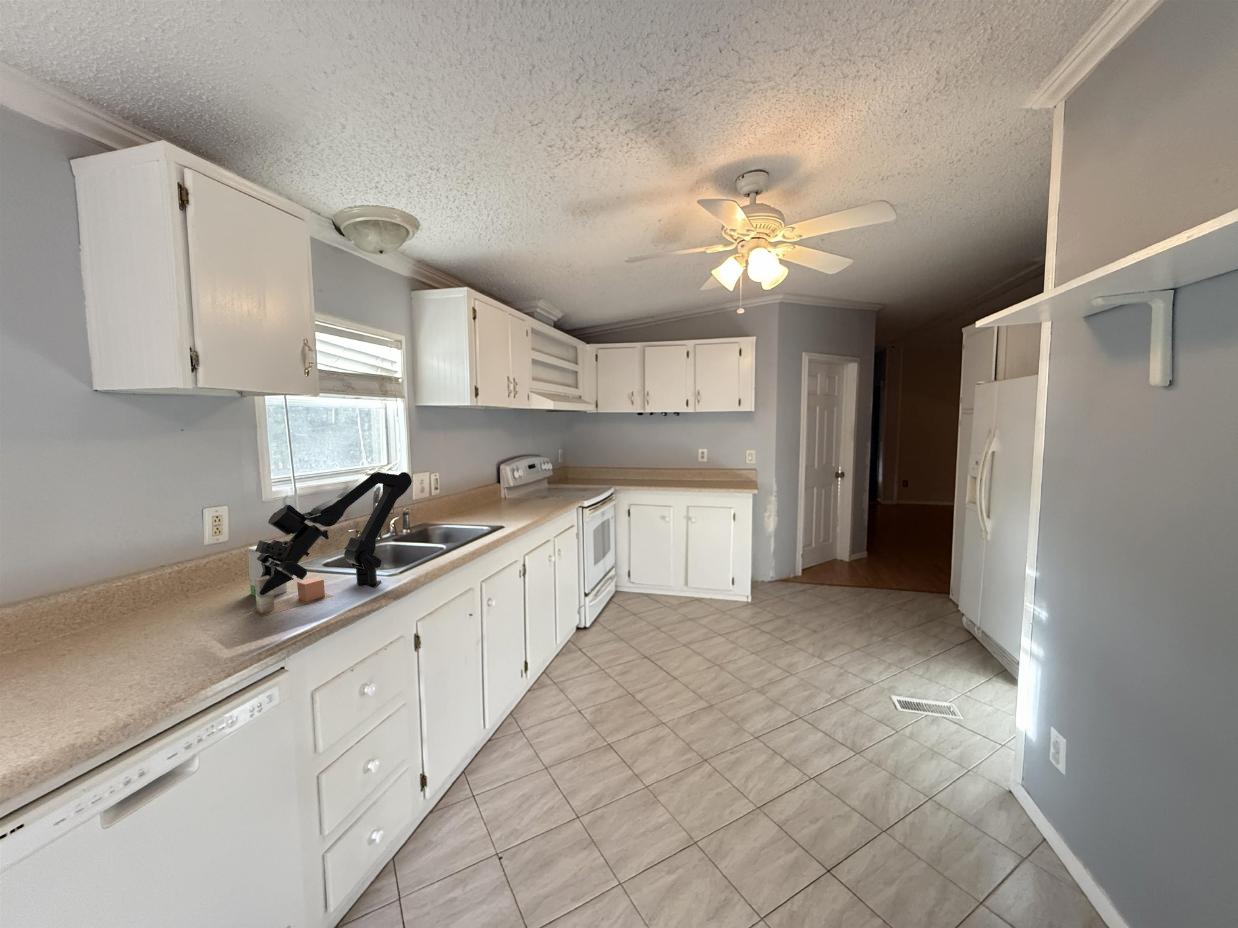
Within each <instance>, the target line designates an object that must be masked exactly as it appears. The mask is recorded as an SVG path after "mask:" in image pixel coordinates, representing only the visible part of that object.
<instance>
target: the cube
mask: <svg viewBox="0 0 1238 928" xmlns="http://www.w3.org/2000/svg"><path fill="white" fill-rule="evenodd" d="M296 584H297V585H296V586H297V596H298V598H299V599H301V600H304V601H306V602H307V601H310V600H314V599H317V598H321V597H324V596H325V593H326V592H325V579H323V578H320V577H317V576H314V577H310V578H306V579H303V580H301V579H300V580H297V581H296Z"/></svg>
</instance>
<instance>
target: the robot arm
mask: <svg viewBox="0 0 1238 928" xmlns="http://www.w3.org/2000/svg"><path fill="white" fill-rule="evenodd" d="M412 483H413V480H412V477H411V475H410V474H409V473H408V472H406V471H405V472H403V471H390V472H389V473H386V472H380V471H377V470H376V471H375V470H370V471H367V472H366V473H365V474H364V475H363V476H362V477H361V478H359V479H358V480H357V481H355V482H354V483H352V484H351V485H350V486H349V487H347V488H346V489H345V490H344V491H342V492H341V493H340V494H338V495H337V496H336V497H334V498H331V499H329V500H327V501H324V502H322V503H320V504H318V505H316V506H315V507H313V508H312V509H311V510H310V511H307V512H303V513H301V512H300V511H299V510H296V508H295V507H294V506H293V505H291V504H286V505H284V507H282V508H280V509H278V510H277V511H275V512H274V513H273V514H271V516H270V517H269V518H268V525H270V526H272V527H273V528H275V529H276V530H278V531H280V532H281V533H283V534H285V535H286V536H288V535H291V534H292V536H291V538H290V539H289V540H284V541H281V540H275V539H274V540H272V541H271V542H270V541H267V540H260V539H259V541H258V543H257V545H256V546H257V548H256V550H255V552H259V553H262V554H260V555H259V557H258V558H257V560H258V561H260V562H262V563H261V565H262V568H263V572H262V575H261V577H263V576H270V577H269V579H268V580H267V582H266V583H265V585H264V586H263V587H262V589H261V591H260V592H259V594H261V595H264V594H266V593H268V592H270V591H272V590H273V589H275V588H277V587H279V586H281V585H282V584H284V583H286V584H287V583H288V582H291V581H294V579H295V578H294V576H295V577H296V578H297V579H298V580H300V581H301V580H305V579H304V578H305V577H306V576H307V575H308V570H307V568H305V567H304V566H302V565H300V564H299V563H300V562H301V561H302V559H303V558H305V557H309V555H310V552H309V551H310V550H311V549H312V548H313V546H314V545H315V544H316V542H318V540H319V539H323V540H329V539H330V537H329V534H328V532H329V531H328V529H325V528H326V527H327V528H330V527H333V526H335V525H336V524H337V523H338V522H339V521H340V519H342V517H343V516H344V514H345V512H346V510H348V508H349V507H350V506H352V505H353V504H354V503H356V502H357V501H358V500H359V499H360V498H362V497H363V496H364V495H366V494H367V493H368V492H369V491H371V490H372V489H373V488H374V487H375V486H377V485H379V484H380V485H382V493H381V496H380V497H379V500H378V501H377V503H376V505H375V507H374V509H373V511H372V513H371V514H370V516H369V517H368V520H367V521H366V523H365V525H364V528H363V529H362V531H361V533H360V534H359V535H358V536H356V537H350V539H349V540H348V543H347V545H346V546H345V547H344V548H343V549H344V550H345V551H344V554H343V555H344V558H345V560H346V561H347V562H348V563H350V565H351V567H352V568H355V575H356V584H357V586H358V587H363V586H366V587H371V588H372V589H374V588H376V587H377V586H378V585H380V584H381V582H382V580H379V579H378V575H377V569H378V568H380V567H381V564H382V560H381V558H379V557H378V556H376V555H375V552H376V549H377V545H376V544H377V538H378V536H379V535H380V533H381V531H382V529H383V527H384V525H385V523H386V521H387V519H388V517H389V515H390V514H391V511H392V509H393V508H394V506H395V505H396V502H397V501H398V499H399V498H401V497H403V495H404V494H406V492H407V491H408V489H409V488H410V487H411V486H412ZM308 523H311V524H312V525H309V524H308ZM318 526H319V527H320V526H321V527H325V528H324V529H321V528H319V527H318ZM254 591H255V590H254Z"/></svg>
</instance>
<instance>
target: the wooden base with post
mask: <svg viewBox="0 0 1238 928" xmlns="http://www.w3.org/2000/svg"><path fill="white" fill-rule="evenodd" d="M269 577H270V576H263V577H259V578H254V581H255V592H256V596H255V602H256V607H254V608H251V609H248V611H250V612H251V613H253V614H255V615H257V616H259V617H261V618H263V617H267V616H270V615H274V614H276V613H280V612H284V611H288V610H291V609H294V608H297V607H301V606H304V605H305V606H306V605H308V604H312V603H315V602H318V601H322V600H326V599H329V598H332V597H334V595H332V594H330V593H327V592H325V596H324V597H321V598H317V599H314V600H310V601H307V602H306V601H304V600H301V599H299V598H298V595H297V596H294V597H290V598H287V599H284V600H280V601H276V602H275V601H274V600H275V598H274V596H273V590H272V591H270V592H268V593H266V594H264V595H261V594H259V592H260V591H261V589H262V587H263V586H264V585H265V583H266V582H267V580H268V579H269Z"/></svg>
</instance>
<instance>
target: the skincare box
mask: <svg viewBox="0 0 1238 928" xmlns="http://www.w3.org/2000/svg"><path fill="white" fill-rule="evenodd" d="M256 548H257V545H253V546H250V547H247V555H248V573H249V589H250V591H249V593H250V594H249V595H251V596H254V597H256V592H255V591H254V590H255V581H254V578H259V577H261V575H262V572H263V568H262V565H261V563H262V562H260V561H258V560H257V558H258V557H259V555H260V554H262V553H259V552H255V550H256ZM283 593H287V582H286V583H284V584H282V585H281V586H279V587H277V588H275V589H273V597H274V596H277V595H279V594H280V595H281V594H283Z"/></svg>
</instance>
